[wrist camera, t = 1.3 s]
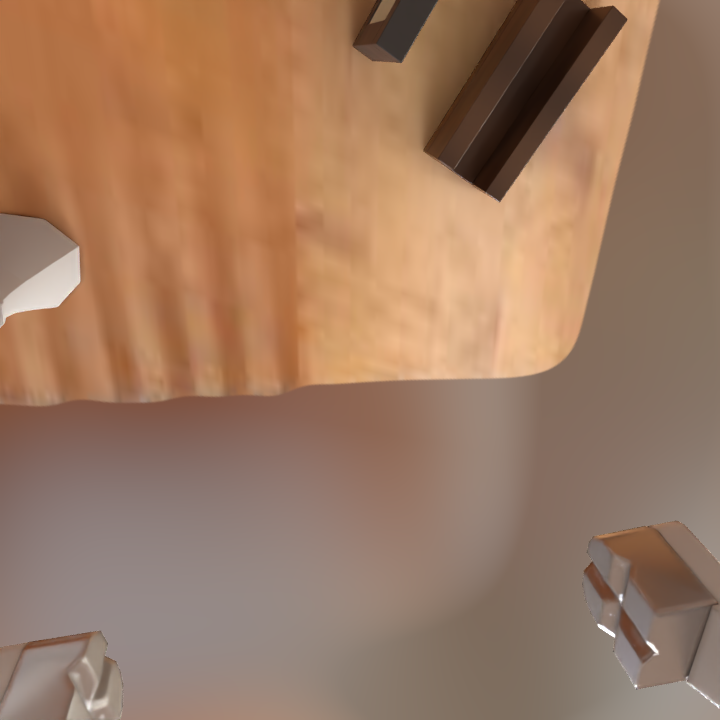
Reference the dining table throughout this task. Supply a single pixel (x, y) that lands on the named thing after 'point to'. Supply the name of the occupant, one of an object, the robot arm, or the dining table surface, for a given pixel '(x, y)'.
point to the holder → (521, 89)
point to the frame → (392, 28)
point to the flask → (34, 265)
